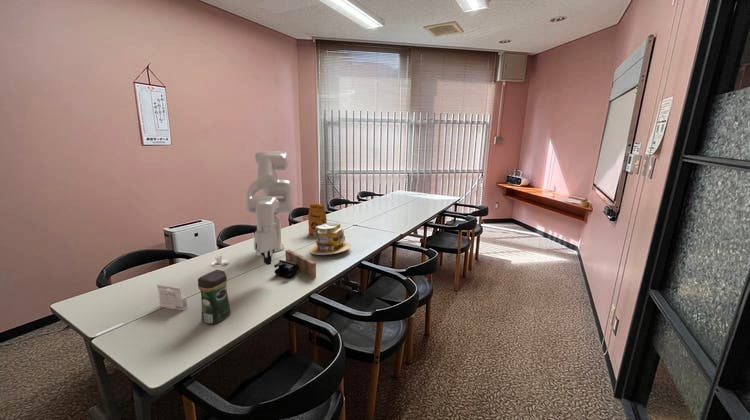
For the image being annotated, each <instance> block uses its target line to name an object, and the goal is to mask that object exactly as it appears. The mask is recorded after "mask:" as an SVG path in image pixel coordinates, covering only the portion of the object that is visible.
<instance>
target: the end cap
mask: <svg viewBox="0 0 750 420" xmlns="http://www.w3.org/2000/svg"><path fill="white" fill-rule="evenodd" d="M273 267H274V274H275V277H277V278H278V277H279V278H282V279H286V280H291V279H293V278H294V277H295V276H296V275H298V273H299V271H298V270H299V266H298V264H296V263H292V262H287V261H286V260H283V259H279V260H278V263H275V264H274V266H273Z"/></svg>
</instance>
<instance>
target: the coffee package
mask: <svg viewBox="0 0 750 420" xmlns="http://www.w3.org/2000/svg"><path fill="white" fill-rule="evenodd" d="M307 216H308V217H307V218H308V219H307V220H308V221H307V222H308V234H309V235H313V236H314V233H315V227H316V226H321V225H323V224H324V223H325V224H326V223H328V222H327V213H326V208H325V205H324V204H320V203H311V202H310V203H309V210H308V215H307Z"/></svg>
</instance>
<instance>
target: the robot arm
mask: <svg viewBox="0 0 750 420" xmlns="http://www.w3.org/2000/svg"><path fill="white" fill-rule="evenodd" d="M289 158H290V157H289V154H288V152H286V151H275V150H273V151H272V150H260V151H257V152H256V153H255V154H254V159H255V161H256V164H257V178H256V179H255V180H254V181H253V182H252V183H251V184H250V185H249V186H248V189H247V192H246V204H245V205H246V209H247V212H249V213H253V214H254V213H255V214H256V216H255V217H256V230H255V233H254V239H253V240H254V241H253V248H254V250H255V255H257V256H263V264H265V265H267V266H269V265H272V256H273V254H274V253H277V252H280V251H282V250H284V249H285V245H284V244H283V243H282V229H281V227H282V226H281V224H282V223H281V219H280V217H279V216H278V215H281V214H282V215H283V214H284V215H285V214H291V212H292V211H293V193H292V190H293V189H292V184H291V181H290V180H288V179H278V178H279V176H278V175H279V173H278V171H286V170H288V167H289V162H290V159H289ZM261 190H262V192H263V194H264V196H254V195H256V193H257V192H259V191H261Z"/></svg>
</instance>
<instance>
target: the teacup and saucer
mask: <svg viewBox="0 0 750 420" xmlns="http://www.w3.org/2000/svg"><path fill="white" fill-rule="evenodd" d="M214 259H215V261H213V262H212V263H210V264H211V266H213V267H221V266H225V265H228V264H229V260H226V259H223V256H222V255H216V256H215V257H214ZM215 263H216V264H215Z"/></svg>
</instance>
